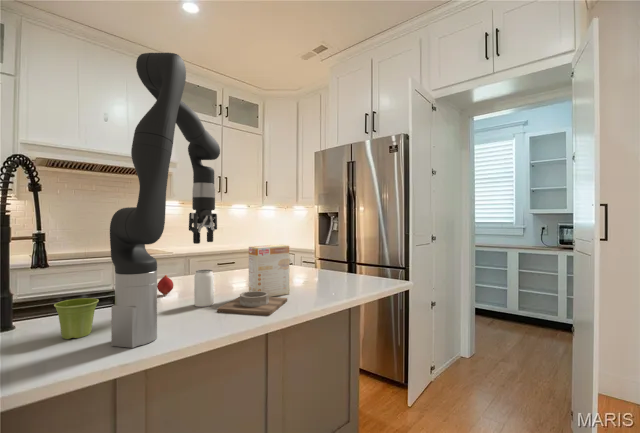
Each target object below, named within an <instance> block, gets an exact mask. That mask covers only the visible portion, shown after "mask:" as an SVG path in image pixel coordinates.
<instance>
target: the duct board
mask: <svg viewBox="0 0 640 433" xmlns="http://www.w3.org/2000/svg"><path fill="white" fill-rule="evenodd" d="M287 302H288V297H278V296H272V297H269V293H268V292H264V291H249V290H248V291H244V292H242V293H239V296H238V297H236V298H234V299H232V300H230V301H229V302H227V303H225V304H223V305H221V306H219V307H217V308H216V309H217V310H216V311H217V313H230V314H240V315H241V314H243V315H256V316H257V315H259V316H271V315H273V313H275V312H276V311H277V310H279V308H281V307H282V306H284V305H285V304H286V303H287Z"/></svg>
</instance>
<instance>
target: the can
mask: <svg viewBox="0 0 640 433" xmlns="http://www.w3.org/2000/svg"><path fill="white" fill-rule="evenodd" d="M213 271H214V270H213V269H198V270H195V274H194V279H193V280H194V281H193V285H194V289H193V292H194V294H193V296H194V298H193V299H194V302H193V304H194V307H197V308H207V307H211V306H213V305H214V302H215V290H214V289H215V282H214V281H215V274H214V273H213Z"/></svg>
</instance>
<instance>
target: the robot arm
mask: <svg viewBox="0 0 640 433" xmlns="http://www.w3.org/2000/svg"><path fill="white" fill-rule="evenodd" d="M135 64H136V65H135V68H136V69H135V70H136V72H137V75H138V78H139V79H140V81H141V84H142V85H143V86H144V87H145V88H146V89H147V90H148V92H149V93H150V94H151V95H152V97H153V98H154V99H155V100H156V101H155V102H154V103H153V105H152V107H150V109H149V110H148V111H147V112H146V114H144V116H143V117H142V118H141V119H140V121H139V122H138V123H137V125H136V127H135V130H134V132H133V138H132V145H131V152H130V154H131V155H130V156H131V161H132V164H133V166H134V167H133V168H134V169H135V172H136V176H137V179H138V184H139V191H138V197H137V198H138V199H137V203H136V206H134V207H133V206H132V207H129V206H128V207H123V208H119V209H118V210H116V211H115V212H114V214H113V215H112V217H111V220H110V223H109V245H110V258H111V261H112V263H113V266H114V305H112V306H111V321H110V322H111V329H110V330H111V331H110V332H111V336H110V338H111V344H110V345H111V347H120V348H129V349H131V348H132V349H133V348H136V347H139V346H143V345H147V344H149V343H152V342H154V341H155V340H156V339H157V337H158V288H157V284H158V261H157V259H156V258H155V257H153V256H152V255H151V254H150V253H148V251H147V249H146V245H147V246H148V245H154V244H155V243H157V242H158V241H160V239H161V237H162V235H163V233H164V230H165V225H166V224H165V223H166V207H167V206H166V204H167V190H168V189H167V187H168V179H169V169H170V164H171V158H172V153H173V148H174V147H173V146H174V138H175V129H176V125H177V127H178V128H179V130H180V132H181V134H182V136H183V137H184V139H185V140H186V141H187V142H188V143H189V144H188V147H187V153H188V156H189V160H190V162H191V168H192V172H193V174H192V176H193V177H192V179H193V180H192V182H193V184H192V197H191V198H192V199H191V200H192V203H191V204H192V205H191V206H192V208H191V209H192V210H193V211H195V212H189V213H188V216H189V217H188V231H190V232H191V233H192V236H193V237H192V243H193V244H198V245H199V244H200V243H201V230H202V228H205V229H206V242H207V243H213V242H214V232H215V231H216V230H218V214H217V213H215V212H214V213H212V211H215V210H216V187H215V169H214V168H213V167H212V166H206V165H203V163H202V161H214V160H217V159H218V158H219V156H220V155H221V148H220V144H219V143H218V142H217V140H216V138H214V137H213V135H212V134H210V133H209V131H207V130H206V129H205V127H204V125H203V122H202V121H201V119H200V117H199V116H198V114H197V113H196V111H195V110H193V108H191V107H190V106H189V105H187V104H186V103H185V102H184V101H183V100H182V97H183V93H184V89H185V85H186V79H187V78H186V77H187V68H186V64H185V61H184V60H183V58H182V56H180V55H179V54H177V53H173V52H145V53H141V54H139V55H138V56H137V59H136V63H135Z"/></svg>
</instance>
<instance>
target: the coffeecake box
mask: <svg viewBox="0 0 640 433" xmlns="http://www.w3.org/2000/svg"><path fill="white" fill-rule="evenodd" d="M249 291H264V292H268V293H269V297H278V296H283V295H290V245H286V244H274V245H271V244H270V245H258V246H257V245H256V246H255V245H254V246H248V292H249Z"/></svg>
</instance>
